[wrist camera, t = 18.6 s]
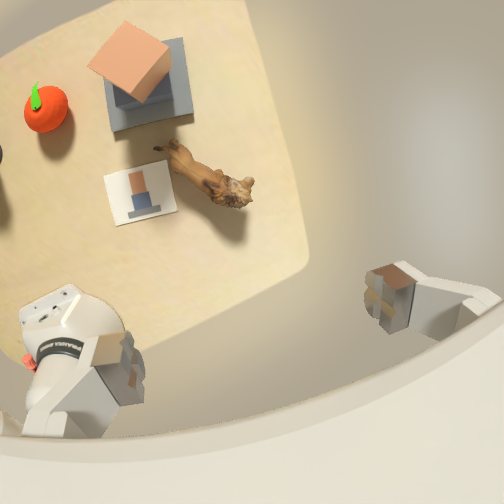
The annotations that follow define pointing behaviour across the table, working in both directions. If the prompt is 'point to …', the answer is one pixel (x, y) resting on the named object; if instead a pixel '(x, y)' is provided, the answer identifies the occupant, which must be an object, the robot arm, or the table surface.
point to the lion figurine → (209, 178)
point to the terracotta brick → (133, 61)
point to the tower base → (158, 108)
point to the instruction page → (140, 192)
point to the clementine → (45, 108)
